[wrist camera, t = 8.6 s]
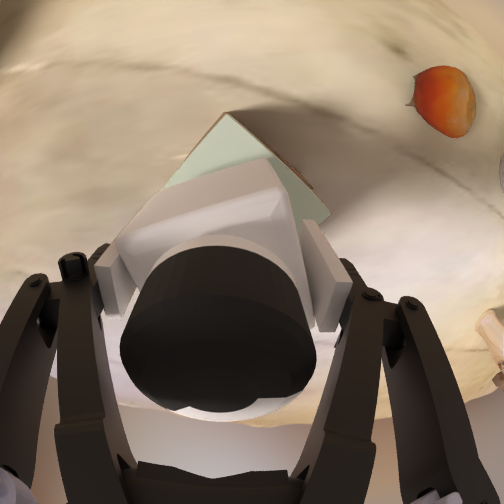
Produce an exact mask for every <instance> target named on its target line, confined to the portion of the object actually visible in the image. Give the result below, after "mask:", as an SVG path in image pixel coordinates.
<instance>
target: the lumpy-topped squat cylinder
mask: <svg viewBox="0 0 504 504" xmlns="http://www.w3.org/2000/svg"><path fill="white" fill-rule="evenodd" d="M499 174H500V182H501V187H502V190H503V192H504V154H503V156H502V158H501V162H500V169H499Z"/></svg>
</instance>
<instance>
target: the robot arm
mask: <svg viewBox="0 0 504 504" xmlns="http://www.w3.org/2000/svg"><path fill="white" fill-rule="evenodd" d="M141 209H142V208H141ZM141 209H140V210H141ZM140 210H139V211H140ZM139 211H138V212H139ZM136 215H137V214H136ZM136 215H135V216H136ZM135 216H134V217H135ZM134 217H133V218H134ZM133 218H132V219H133ZM132 219H131V220H132ZM130 222H131V221H130ZM130 222H129V223H130ZM129 223H128V224H129ZM128 224H127V225H128ZM127 225H126V226H127ZM126 226H125V227H126ZM124 229H125V228H124ZM124 229H123V230H124ZM123 230H122V231H123ZM122 231H121V232H122ZM121 232H120V233H121ZM120 233H119V235H120ZM119 235H118V236H119ZM118 236H117V237H118ZM117 237H116V238H115V240H114V241H113V242H112V243H111V244H107V243H105V244H104V245H102V246H100V247H99V248H98V249H97V250H96V251H95V252H94V254H92V256H91V257H90V258H89V259H88V261H87V258H86V255H85V254H84V253H80V252H73V253H69V254H66V255H64V256H63V257H61V258H60V259H59V261H58V265H59V269H60V272H61V276H62V281H61V282H52V283H49V280H48V277H47V275H45V274H41V273H39V274H34V275H31V276H30V277H29V278H27V279H26V280H25V281H24V283H23V284H22V286H21V288H20V289H19V291H18V293H17V294H16V296H15V298H14V300H13V301H12V303H11V305H10V307H9V309H8V310H7V312H6V314H5V316H4V318H3V320H2V322H1V324H0V504H38V502H37V500H36V499H35V498H34V497H33V495H32V492H31V491H30V489H31V486H32V481H33V477H34V470H35V462H36V451H37V441H38V433H39V427H40V420H41V414H42V409H43V403H44V398H45V393H46V389H47V384H48V380H49V376H50V372H51V368H52V364H53V360H54V357H55V353H56V350H57V379H58V397H59V410H60V423H59V424H56V425H55V428H54V436H55V443H56V450H57V456H58V461H59V466H60V472H61V476H62V481H63V485H64V489H65V493H66V497H67V500H68V503H66V504H364V500H365V497H366V494H367V490H368V486H369V481H370V478H371V474H372V469H373V465H374V460H375V455H376V445H375V443H373V442H371V434H372V429H373V423H374V417H375V411H376V404H377V396H378V388H379V379H380V369H381V358H382V362H383V367H384V372H385V377H386V382H387V387H388V393H389V399H390V405H391V411H392V417H393V424H394V431H395V439H396V448H397V458H398V469H399V482H400V491H401V496H402V501H403V504H500V500H499V497H498V495H497V492H496V490H495V488H494V486H493V484H492V482H491V480H490V478H489V476H488V474H487V472H486V470H485V469H484V467H483V465H482V463H481V461H480V459H479V457H478V453H477V448H476V444H475V440H474V436H473V432H472V429H471V425H470V421H469V418H468V415H467V411H466V409H465V405H464V402H463V399H462V396H461V393H460V390H459V387H458V384H457V382H456V379H455V376H454V373H453V371H452V368H451V366H450V363H449V361H448V358H447V356H446V353H445V351H444V348H443V346H442V344H441V341H440V339H439V337H438V335H437V332H436V330H435V328H434V326H433V324H432V322H431V319H430V317H429V315H428V313H427V311H426V309H425V307H424V305H423V304H422V303H421V302H420V301H419V300H418V299H416V298H414V297H410V296H403V297H401V298H400V300H399V302H398V304H395V303H390V302H386V301H384V298H383V296H382V295H381V293H380V292H378V291H377V290H375V289H372V288H369V287H367V286H366V284H365V282H364V281H363V279H362V278H361V276H360V275H359V273H358V272H357V271H356V268H355V267H354V265H353V264H352V263H351V262H349V261H348V260H347V259H345V258H338V256H337V255H336V253H335V251H334V250H333V248H332V247H331V245H330V243H329V242H328V240H327V239H326V237H325V235H324V234H323V232H322V231H321V229H320V228H319V226H318V225H317V223H316V221H315V220H309V219H302V224H301V229H300V235H299V243H300V247H301V252H302V256H303V261H304V266H305V271H306V275H307V280H308V285H309V290H310V295H311V300H312V306H313V311H314V316H315V319H316V322H317V325H318V328H319V332H335V331H336V329H337V326H338V323H340V326H341V328H342V329H341V332H340V334H339V337H338V339H337V342H336V344H335V346H334V348H336V349H335V353H334V357H333V360H332V364H331V367H330V371H329V374H328V378H327V381H326V385H325V388H324V391H323V394H322V397H321V401H320V404H319V407H318V410H317V413H316V416H315V419H314V422H313V424H312V427H311V430H310V433H309V436H308V438H307V441H306V444H305V446H304V449H303V452H302V454H301V457H300V459H299V461H298V463H297V465H296V467H295V469H294V470H293V472H292V474H291V476H290V477H288V473H287V470H277V471H250V472H246V473H242V474H237V475H232V476H227V477H221V478H215V479H211V478H206V477H203V476H199V475H196V474H193V473H190V472H187V471H184V470H181V469H178V468H175V467H172V466H165V465H158V464H152V463H147V462H142V461H138V465H137V463H136V461H135V459H134V457H133V455H132V453H131V450H130V447H129V444H128V441H127V438H126V434H125V431H124V428H123V424H122V421H121V417H120V413H119V409H118V405H117V401H116V397H115V393H114V388H113V383H112V379H111V374H110V369H109V363H108V357H107V351H106V345H105V338H104V331H103V323H102V319H101V315H100V314H101V312H102V310H103V308H104V311H105V314H106V318H112V319H119V320H121V319H122V317H123V315H124V313H125V311H126V308H127V306H128V304H129V302H130V300H131V298H132V295H133V293H134V291H135V289H136V287H137V286H136V284H135V282H134V280H133V279H132V277H131V275H130V273H129V271H128V269H127V268H126V266H125V264H124V262H123V260H122V258H121V256H120V254H119V252H118V250H117V248H116V245H115V243H116V239H117Z"/></svg>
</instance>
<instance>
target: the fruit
mask: <svg viewBox="0 0 504 504" xmlns="http://www.w3.org/2000/svg"><path fill="white" fill-rule="evenodd" d="M413 77H414V79H415V90H414V95H413V98H412V100H411V102H410V104H406V106H414V107H415V108H416V110H417V112H418V113H419V114H420V115H421V116H422V117H423V119H424V120H425V121H426V122H427V123H428V124H430V125H431V126H432V127H433V128H435V129H436V130H438V131H439V132H441V133H443V134H444V135H446V136H449V137H451V138H459V137H461V136H464V135H465V134H466V133H467V131H468V129H469V128H470V127H471V125H472V122H473V120H474V118H475V113H476V103H475V95H474V92H473V89H472V87H471V84H470V82H469V80H468V78H467V76H466V75H465V74H464V73H463V72H462V71H460V70H459V69H457V68H454V67H450V66H437V67H432V68H429V69H427V70H425V71H423V72H421V73H419V74H417V75H415V76H413Z"/></svg>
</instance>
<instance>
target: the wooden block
mask: <svg viewBox="0 0 504 504" xmlns="http://www.w3.org/2000/svg"><path fill="white" fill-rule="evenodd" d="M493 382H494V384H495V385H496V387H497V386H500V387H501V388H502V389H503V390H504V374H503V373H502V372H501V373H498V374H497V375H496V376H495V377H494V378H493Z"/></svg>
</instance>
